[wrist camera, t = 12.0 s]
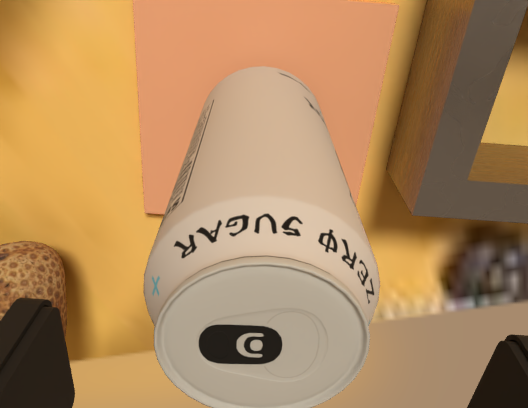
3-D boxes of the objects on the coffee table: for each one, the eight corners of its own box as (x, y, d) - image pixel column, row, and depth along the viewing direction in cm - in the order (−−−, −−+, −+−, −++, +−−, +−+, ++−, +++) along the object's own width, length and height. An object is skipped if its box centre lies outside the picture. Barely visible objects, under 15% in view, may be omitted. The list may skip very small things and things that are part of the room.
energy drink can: (313, 176, 25) (373, 434, 12) (203, 172, 24) (138, 428, 11) (326, 64, 22) (425, 242, 9) (201, 58, 21) (108, 231, 8)
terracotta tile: (394, 3, 21) (399, 5, 20) (349, 219, 27) (351, 227, 26) (136, -21, 20) (131, -20, 20) (147, 205, 26) (144, 212, 26)
